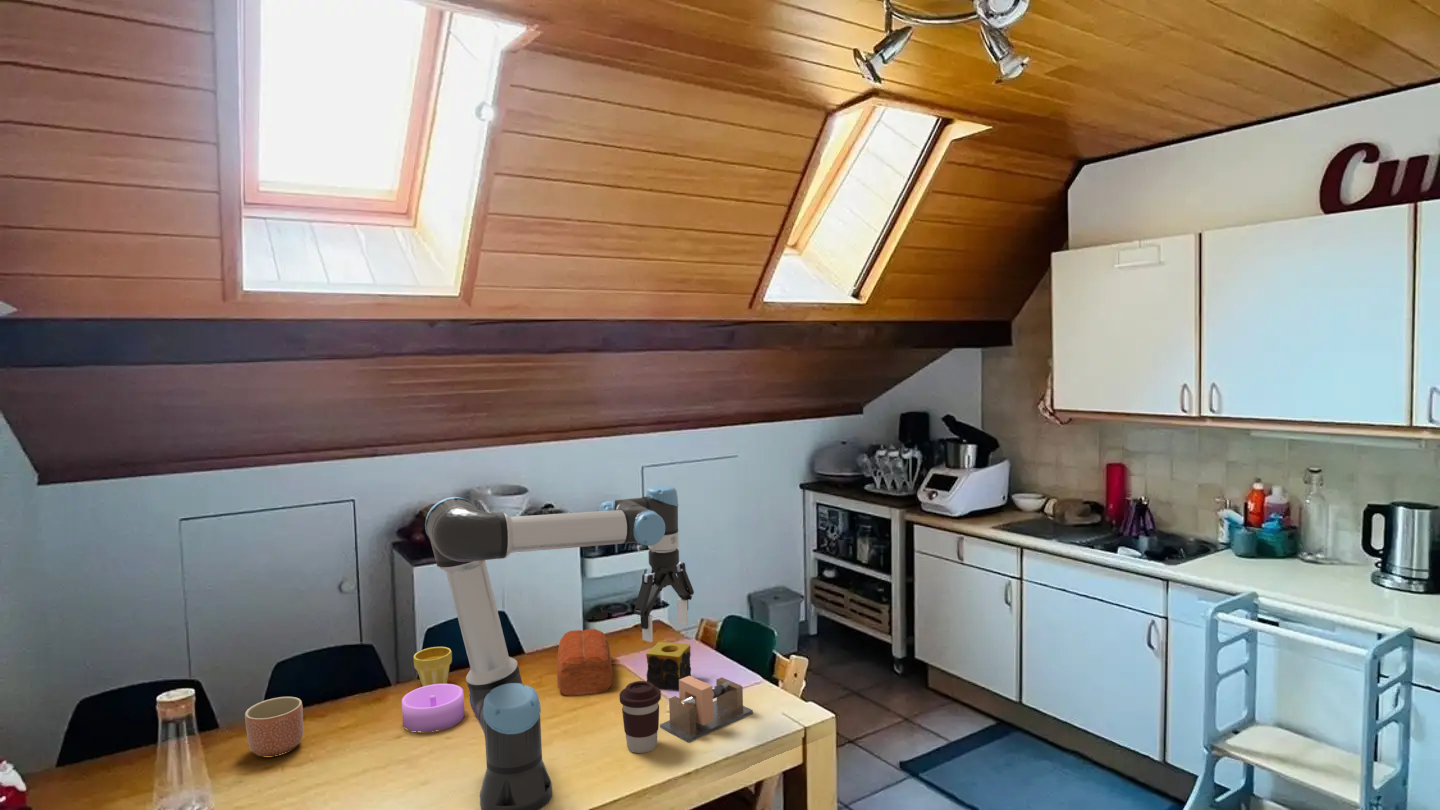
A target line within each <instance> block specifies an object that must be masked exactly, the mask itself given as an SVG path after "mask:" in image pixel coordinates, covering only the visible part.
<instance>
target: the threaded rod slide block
mask: <svg viewBox="0 0 1440 810" xmlns="http://www.w3.org/2000/svg"><path fill="white" fill-rule="evenodd" d="M715 683H716V684H715V685H714V686H712V689H713V721H712V722H709V723H707V724H705V725H701V724H699V723H697V722H696V696H692V697H689V698H687V699H684V700H682V699H680V698H679V696H675V695H674V696H672V697H670V698H668V705H669V706H668V707H669V711H668V712H669V720H667V721H664V722H663V723H660V724H659V729H663V730H664V731H665V732H668V733H670V734H671V735H673V736H675V737H677V738H679V739H680V740H682V741H684V742H686V743H690V742H693V741H695V740H696V739H699V738H701V737H703V736H705V735H708V734H710V733H712V732H714V731H717V730H719V729H721V728H723V727H725V726H727V725H730V724H731V723H734V722H736V721H738V720H741V719H743V718H745V717H747V716H749V715H752V714H753V713H754V710H753V709H751V708H749V707H747V706H745V705H744V696H743V694H744V693H743V685H740V684H738V683H735V682H733V681H731V680H729V679H727V678H725V677H719V678H716V681H715ZM714 699H716V700H714Z"/></svg>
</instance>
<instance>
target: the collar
mask: <svg viewBox="0 0 1440 810" xmlns="http://www.w3.org/2000/svg"><path fill="white" fill-rule="evenodd" d="M712 687H713V685H711V684H708V683H706V682H704V681H703V680H700V679H697V678H696V677H693V676H692V675H691V676H687V677H685V678H682V679H679V692H678V695H679V696H678V698H680V699H682V700H684V699H687V698H689V697H692V696H696V722H697V723H699V724H701V725H705V724H707V723H709V722H712V721H713V702H714V699H713V689H712Z"/></svg>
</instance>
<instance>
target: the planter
mask: <svg viewBox="0 0 1440 810" xmlns="http://www.w3.org/2000/svg"><path fill="white" fill-rule="evenodd" d="M303 707H304V706H303V701H302V700H301V699H300V698H298V697H296V696H295V697H294V696H279V697H273V698H270V699H266V700H263V701H260V702H258V703H255V704H254V705H252V706H250V707H248V709H247V710H246V711H245V713H244V720H245V721H244V722H245V730H246V736H247V744H248V748H249V749H250V751H251V753H253V754H255V755H256V756H258V757H260V756H275V755H279V754H282V753H285V752H288V751H290V750H291V749H293V748H294V749H295V748H296V747H297V746H298V745H299V744H300V743H301V741H302V738H303V735H304V716H303V715H304V713H303V709H304V708H303ZM294 749H293V750H294ZM291 751H292V750H291ZM291 751H290V752H291ZM288 753H289V752H288Z"/></svg>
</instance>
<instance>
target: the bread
mask: <svg viewBox="0 0 1440 810" xmlns="http://www.w3.org/2000/svg"><path fill="white" fill-rule="evenodd" d="M606 636H607V635H606V633H604V632H603V631H601V630H599V629H596V628H587V629H586V628H585V629H584V630H581V629H577V630H576V629H574V630H569V631H567V632H565V633H564V634H563V636H562V637H561V639H560V640H559V644H558V650H557V651H558V652H557V664H556V665H557V666H556V682H557V683H556V684H557V688H558V689H559V690H560V692H561V693H562V694H563V696H571V697H572V696H575V697H577V696H587V695H594V694H595V695H596V694H601V693H604V692H607V691H608V689H610V686H611V685H612V679H613V669H612V661H611V651H610V649H611V648H610V644H609V642H608V640H607V637H606Z"/></svg>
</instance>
